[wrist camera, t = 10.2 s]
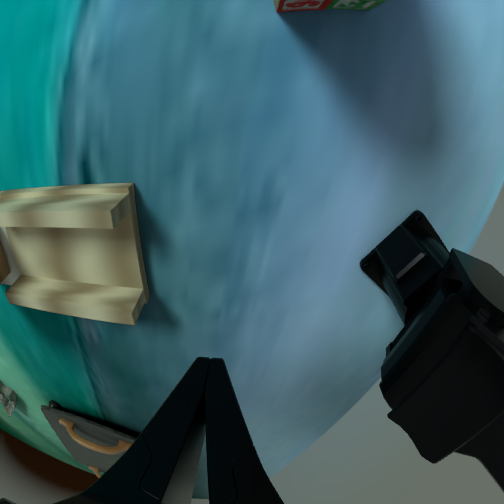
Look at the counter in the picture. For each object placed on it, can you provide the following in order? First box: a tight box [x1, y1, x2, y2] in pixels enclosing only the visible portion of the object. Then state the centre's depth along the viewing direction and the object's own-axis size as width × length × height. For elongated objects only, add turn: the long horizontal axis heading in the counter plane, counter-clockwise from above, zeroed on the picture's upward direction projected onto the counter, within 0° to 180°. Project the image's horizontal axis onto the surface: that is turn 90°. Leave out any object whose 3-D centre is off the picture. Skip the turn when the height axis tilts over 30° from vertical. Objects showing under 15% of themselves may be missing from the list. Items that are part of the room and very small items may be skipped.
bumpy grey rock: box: [0, 381, 17, 417], centre depth 39 cm, size 11×8×4 cm
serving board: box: [41, 400, 137, 478], centre depth 45 cm, size 39×23×6 cm, turn 164°
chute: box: [0, 183, 150, 325], centre depth 20 cm, size 22×10×4 cm, turn 87°
